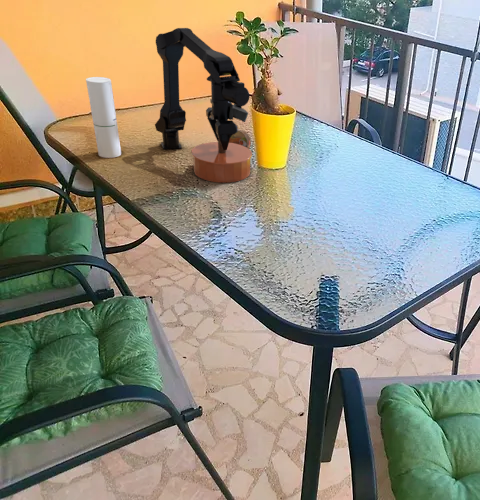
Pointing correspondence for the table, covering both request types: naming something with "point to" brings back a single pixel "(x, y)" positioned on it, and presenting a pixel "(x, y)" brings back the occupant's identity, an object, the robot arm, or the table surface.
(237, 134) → the tin
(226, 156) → the lid
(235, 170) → the pot
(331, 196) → the table surface
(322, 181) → the table surface
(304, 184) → the table surface
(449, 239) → the table surface
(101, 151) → the cylindrical container
